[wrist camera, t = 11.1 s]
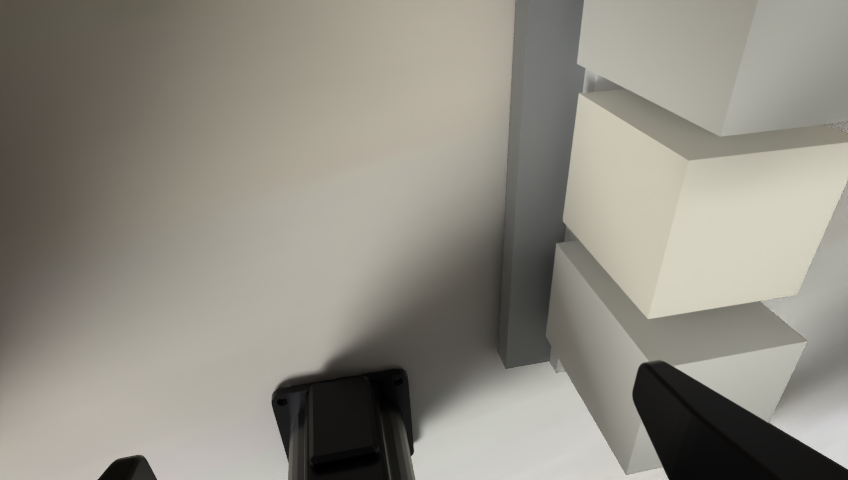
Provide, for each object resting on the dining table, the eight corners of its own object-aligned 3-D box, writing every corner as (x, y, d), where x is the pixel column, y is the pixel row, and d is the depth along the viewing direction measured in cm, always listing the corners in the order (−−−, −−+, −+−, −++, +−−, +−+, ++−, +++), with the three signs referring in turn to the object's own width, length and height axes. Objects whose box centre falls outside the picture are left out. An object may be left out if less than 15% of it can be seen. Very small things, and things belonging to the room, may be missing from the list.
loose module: (681, 205, 21) (801, 294, 16) (562, 220, 20) (647, 319, 15) (714, 80, 18) (870, 139, 13) (578, 93, 17) (688, 160, 12)
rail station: (643, 326, 27) (772, 480, 20) (498, 351, 26) (576, 525, 18) (778, -225, 16) (1222, -368, 8) (526, -223, 14) (768, -387, 7)
